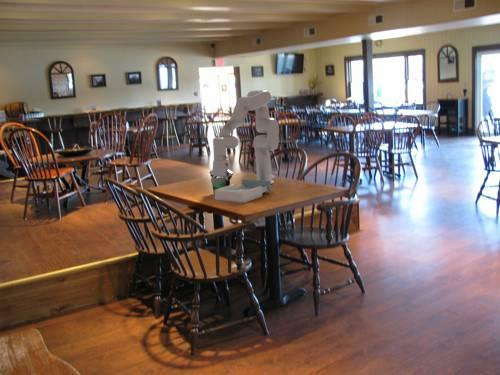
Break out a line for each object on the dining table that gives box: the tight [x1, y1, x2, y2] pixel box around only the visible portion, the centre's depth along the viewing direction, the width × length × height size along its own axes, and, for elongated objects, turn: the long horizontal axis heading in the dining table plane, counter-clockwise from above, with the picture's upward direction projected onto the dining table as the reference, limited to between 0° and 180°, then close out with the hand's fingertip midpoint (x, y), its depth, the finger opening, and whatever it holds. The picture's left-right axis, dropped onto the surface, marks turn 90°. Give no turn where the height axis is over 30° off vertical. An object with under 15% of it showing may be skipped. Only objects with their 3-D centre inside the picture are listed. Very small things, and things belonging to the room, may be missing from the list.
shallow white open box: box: [214, 183, 263, 204], centre depth 295 cm, size 19×20×6 cm
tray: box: [227, 178, 272, 194], centre depth 303 cm, size 18×20×6 cm
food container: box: [210, 177, 228, 195], centre depth 312 cm, size 12×6×10 cm, turn 126°
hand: (221, 185), depth 311 cm, fingers open, 9 cm apart
